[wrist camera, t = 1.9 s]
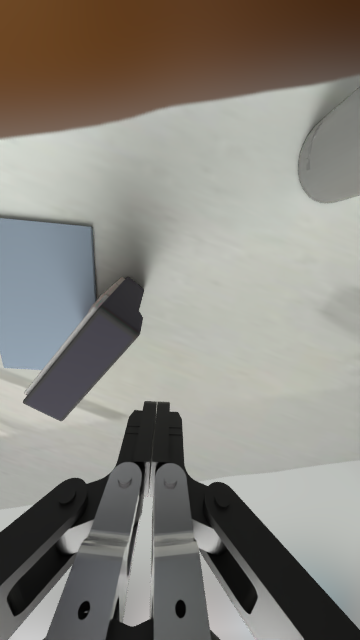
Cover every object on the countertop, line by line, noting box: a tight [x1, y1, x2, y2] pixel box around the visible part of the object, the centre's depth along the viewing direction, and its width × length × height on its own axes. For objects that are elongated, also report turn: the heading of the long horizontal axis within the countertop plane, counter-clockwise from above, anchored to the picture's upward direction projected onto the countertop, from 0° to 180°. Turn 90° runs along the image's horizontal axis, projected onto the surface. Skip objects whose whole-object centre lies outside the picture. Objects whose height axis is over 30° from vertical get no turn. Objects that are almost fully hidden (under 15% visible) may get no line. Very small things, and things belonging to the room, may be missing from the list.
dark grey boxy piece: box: [23, 277, 144, 421], centre depth 22 cm, size 11×4×15 cm, turn 138°
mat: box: [0, 218, 96, 370], centre depth 29 cm, size 15×22×1 cm
